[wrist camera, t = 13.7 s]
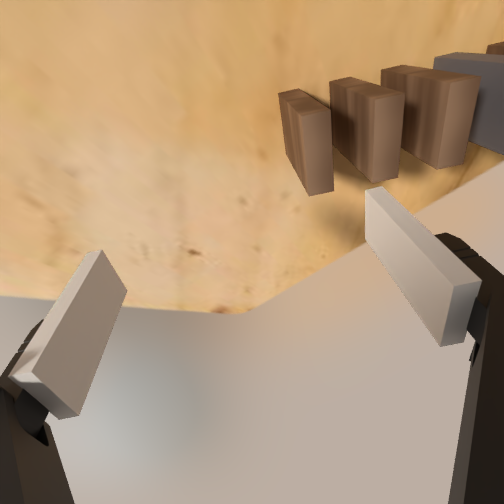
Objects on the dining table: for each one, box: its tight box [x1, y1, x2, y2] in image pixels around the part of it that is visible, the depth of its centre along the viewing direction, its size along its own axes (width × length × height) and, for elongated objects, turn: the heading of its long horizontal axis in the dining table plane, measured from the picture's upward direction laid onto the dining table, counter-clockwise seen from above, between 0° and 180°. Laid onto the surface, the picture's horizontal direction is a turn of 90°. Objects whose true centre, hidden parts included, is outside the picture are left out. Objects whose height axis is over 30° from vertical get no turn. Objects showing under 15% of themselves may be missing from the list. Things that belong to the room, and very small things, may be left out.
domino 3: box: [381, 65, 481, 169], centre depth 26 cm, size 2×6×11 cm, turn 11°
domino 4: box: [433, 52, 504, 155], centre depth 26 cm, size 2×6×11 cm, turn 11°
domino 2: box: [329, 77, 405, 183], centre depth 27 cm, size 2×6×11 cm, turn 11°
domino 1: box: [278, 89, 334, 196], centre depth 27 cm, size 2×6×11 cm, turn 11°
